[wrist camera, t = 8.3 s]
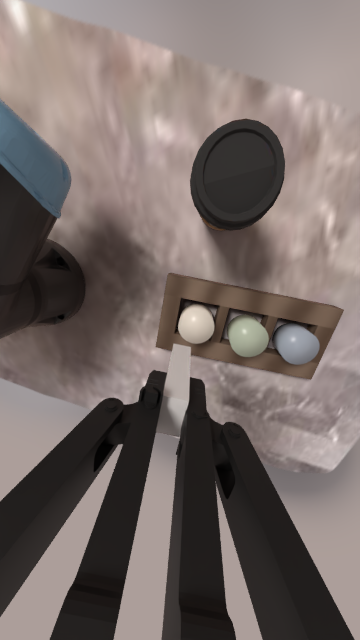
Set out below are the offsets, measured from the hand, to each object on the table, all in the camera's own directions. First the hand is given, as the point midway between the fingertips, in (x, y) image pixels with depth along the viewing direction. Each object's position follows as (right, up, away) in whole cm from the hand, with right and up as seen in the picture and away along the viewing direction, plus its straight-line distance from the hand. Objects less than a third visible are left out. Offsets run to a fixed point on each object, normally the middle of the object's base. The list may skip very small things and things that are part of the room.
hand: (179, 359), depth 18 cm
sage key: (+11, +2, +17) cm, 20 cm away
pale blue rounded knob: (+19, 0, +17) cm, 25 cm away
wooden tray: (+11, +3, +19) cm, 22 cm away
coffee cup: (+6, +20, +14) cm, 25 cm away
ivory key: (+3, +4, +18) cm, 18 cm away
